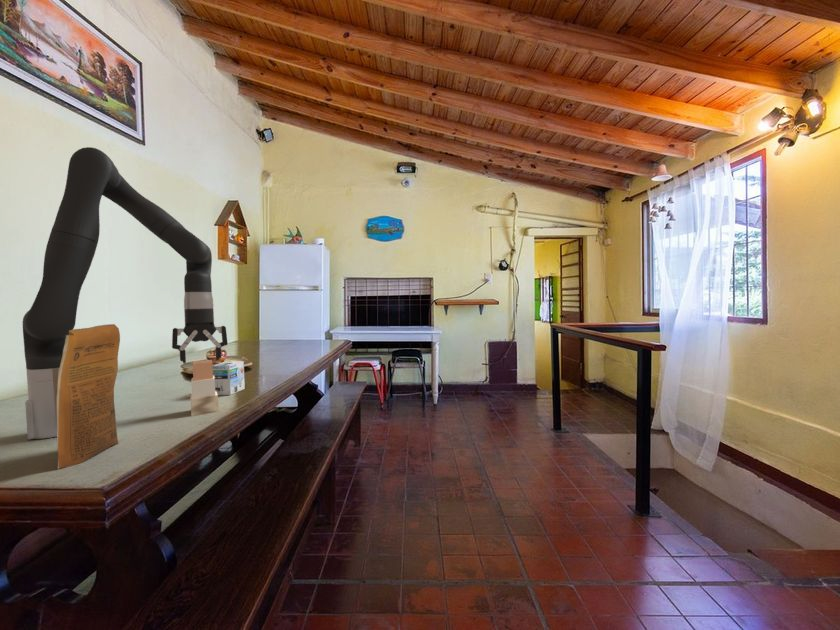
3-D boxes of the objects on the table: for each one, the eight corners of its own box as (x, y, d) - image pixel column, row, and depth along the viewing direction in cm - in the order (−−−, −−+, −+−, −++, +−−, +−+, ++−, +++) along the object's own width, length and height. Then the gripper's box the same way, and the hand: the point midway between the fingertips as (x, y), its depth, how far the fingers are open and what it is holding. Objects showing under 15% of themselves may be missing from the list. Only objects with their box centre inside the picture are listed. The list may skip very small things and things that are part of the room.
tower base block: (191, 416, 109) (190, 399, 109) (191, 410, 115) (190, 394, 115) (218, 411, 113) (217, 395, 112) (216, 406, 118) (216, 390, 118)
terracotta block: (193, 380, 110) (192, 363, 110) (193, 378, 114) (192, 361, 114) (213, 378, 112) (212, 361, 112) (212, 376, 117) (211, 360, 117)
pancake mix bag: (137, 436, 93) (131, 323, 92) (77, 470, 74) (68, 328, 73) (107, 438, 92) (100, 324, 91) (38, 473, 73) (29, 329, 72)
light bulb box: (230, 395, 132) (229, 365, 132) (212, 396, 133) (210, 365, 132) (245, 388, 143) (244, 360, 143) (228, 388, 143) (226, 360, 143)
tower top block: (192, 398, 109) (191, 381, 109) (192, 394, 115) (191, 378, 114) (215, 395, 112) (214, 378, 112) (215, 391, 118) (214, 375, 117)
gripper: (170, 308, 105) (172, 365, 106) (226, 306, 113) (228, 360, 113) (171, 308, 112) (173, 362, 112) (224, 307, 119) (226, 357, 120)
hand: (201, 361), depth 113 cm, fingers open, 8 cm apart
